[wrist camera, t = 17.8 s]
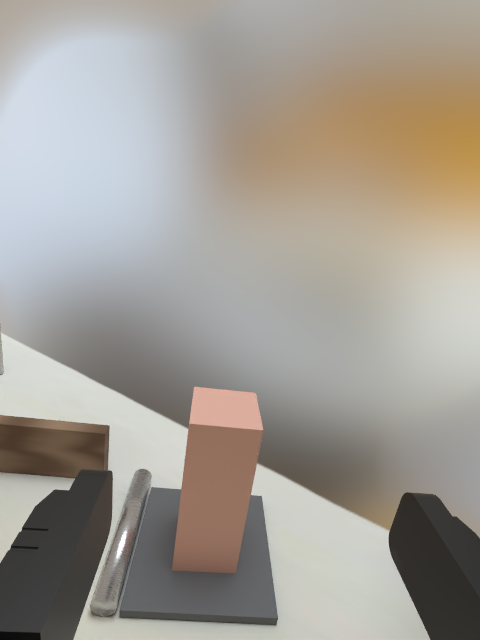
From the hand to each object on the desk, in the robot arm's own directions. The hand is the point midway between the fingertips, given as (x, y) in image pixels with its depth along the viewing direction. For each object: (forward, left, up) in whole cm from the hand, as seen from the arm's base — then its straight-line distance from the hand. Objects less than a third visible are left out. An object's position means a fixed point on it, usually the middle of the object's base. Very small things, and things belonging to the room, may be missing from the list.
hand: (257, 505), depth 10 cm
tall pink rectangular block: (0, -13, -17) cm, 21 cm away
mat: (0, -13, -18) cm, 22 cm away
